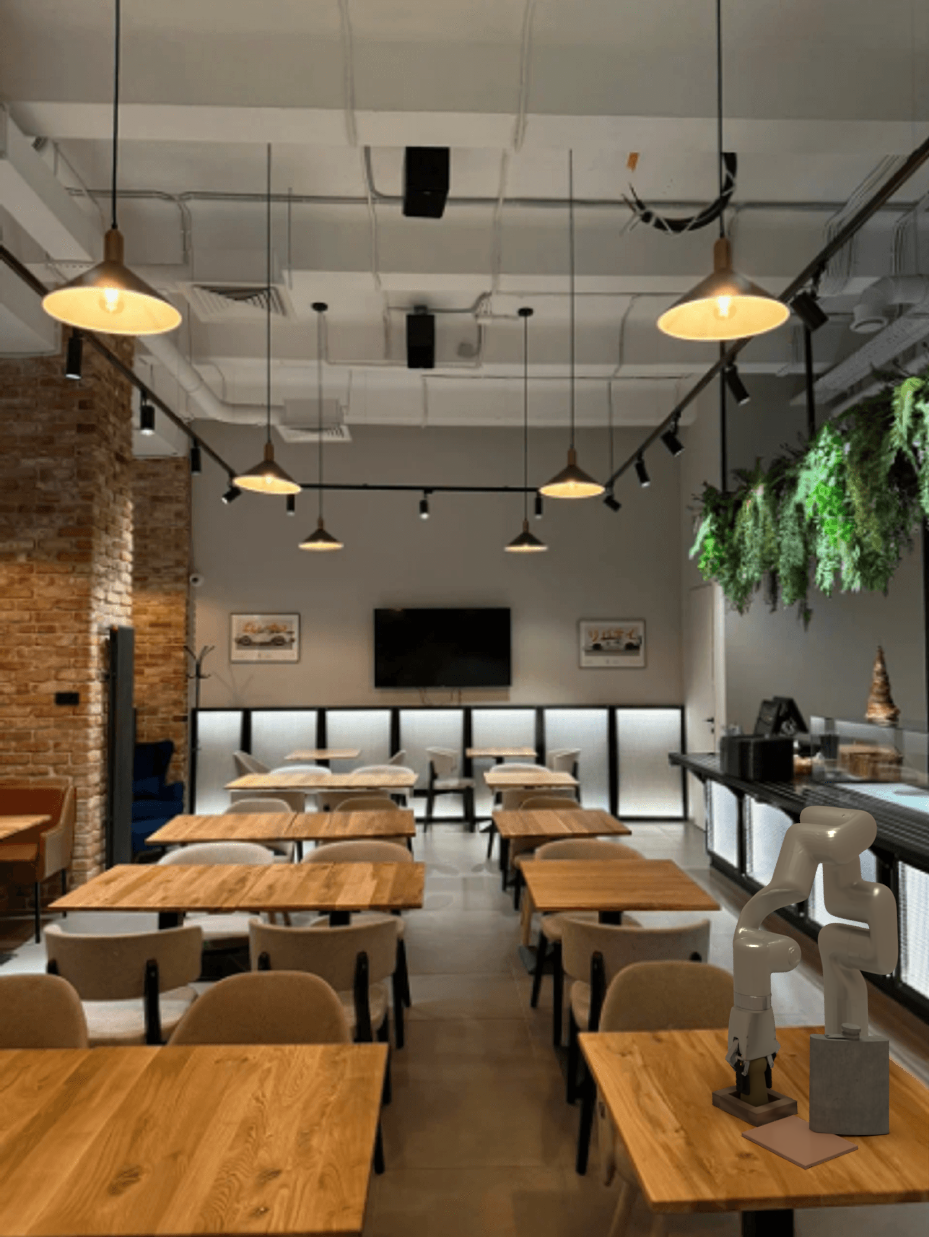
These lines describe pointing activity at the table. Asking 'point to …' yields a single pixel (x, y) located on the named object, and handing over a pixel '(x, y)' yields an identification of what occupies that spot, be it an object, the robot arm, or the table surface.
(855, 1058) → the hip flask
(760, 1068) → the olive pawn shape
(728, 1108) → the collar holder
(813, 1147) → the terracotta tile
